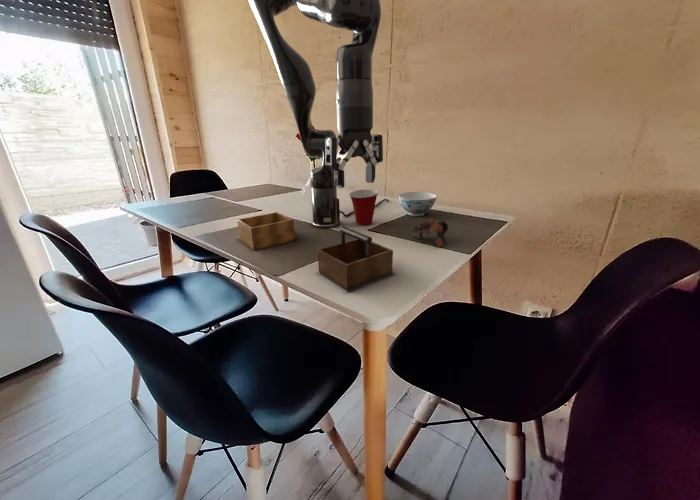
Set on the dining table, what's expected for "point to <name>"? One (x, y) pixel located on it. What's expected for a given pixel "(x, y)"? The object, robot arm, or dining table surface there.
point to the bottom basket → (266, 230)
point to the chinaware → (417, 202)
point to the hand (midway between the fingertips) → (355, 184)
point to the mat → (361, 284)
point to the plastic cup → (364, 205)
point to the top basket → (354, 260)
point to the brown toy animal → (435, 226)
